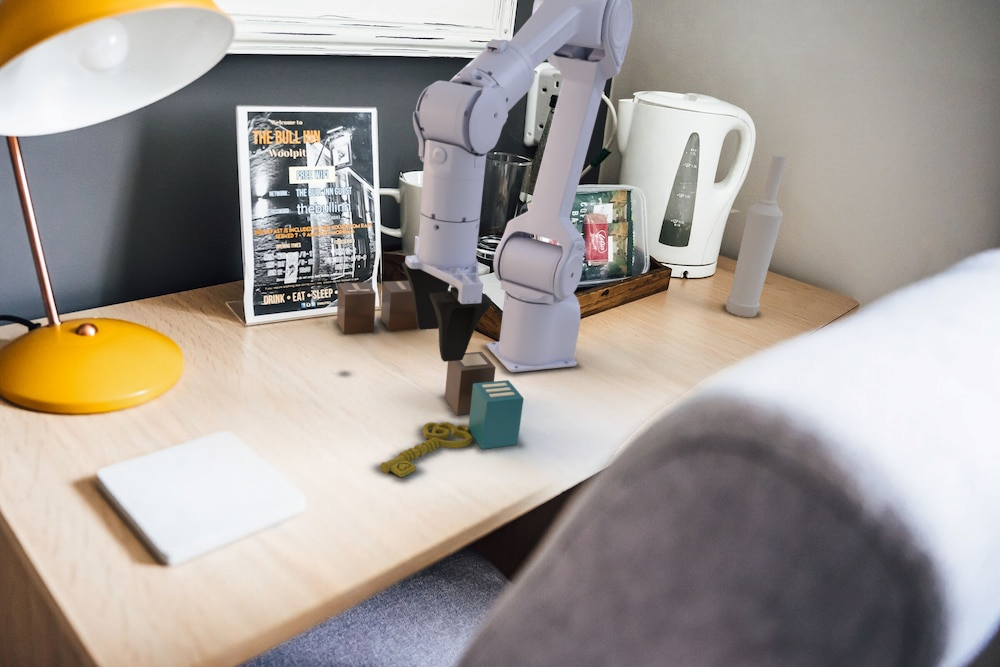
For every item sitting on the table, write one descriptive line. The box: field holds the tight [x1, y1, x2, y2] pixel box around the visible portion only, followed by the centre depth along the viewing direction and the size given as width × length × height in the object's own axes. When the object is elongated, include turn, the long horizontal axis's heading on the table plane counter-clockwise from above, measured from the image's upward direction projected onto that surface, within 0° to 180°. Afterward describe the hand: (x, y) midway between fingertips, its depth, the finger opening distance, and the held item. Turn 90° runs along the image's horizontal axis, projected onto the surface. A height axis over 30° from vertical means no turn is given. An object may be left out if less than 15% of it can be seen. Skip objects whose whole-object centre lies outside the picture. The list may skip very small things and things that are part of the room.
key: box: [379, 422, 473, 478], centre depth 77 cm, size 12×1×5 cm
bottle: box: [725, 154, 788, 318], centre depth 119 cm, size 5×5×25 cm
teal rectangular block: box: [467, 379, 525, 450], centre depth 79 cm, size 4×4×6 cm
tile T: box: [336, 281, 377, 335], centre depth 101 cm, size 4×4×6 cm
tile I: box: [380, 280, 418, 332], centre depth 103 cm, size 4×4×6 cm
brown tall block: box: [444, 351, 496, 416], centre depth 85 cm, size 4×4×6 cm
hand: (439, 343), depth 79 cm, fingers open, 7 cm apart
